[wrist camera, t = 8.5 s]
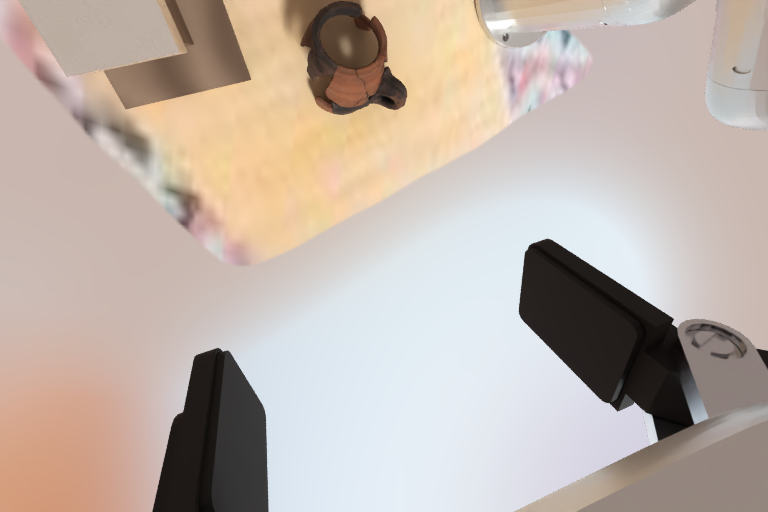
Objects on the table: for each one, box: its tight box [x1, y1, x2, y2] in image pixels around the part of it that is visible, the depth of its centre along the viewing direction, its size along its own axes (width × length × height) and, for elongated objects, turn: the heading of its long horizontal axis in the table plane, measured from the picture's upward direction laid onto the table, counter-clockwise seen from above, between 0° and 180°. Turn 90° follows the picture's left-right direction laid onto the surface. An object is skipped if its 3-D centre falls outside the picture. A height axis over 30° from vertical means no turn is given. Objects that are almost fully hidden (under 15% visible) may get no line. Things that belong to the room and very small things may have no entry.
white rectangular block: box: [18, 0, 188, 77], centre depth 23 cm, size 6×6×15 cm
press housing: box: [104, 0, 251, 109], centre depth 26 cm, size 12×12×12 cm
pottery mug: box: [300, 1, 407, 115], centre depth 36 cm, size 12×10×8 cm
